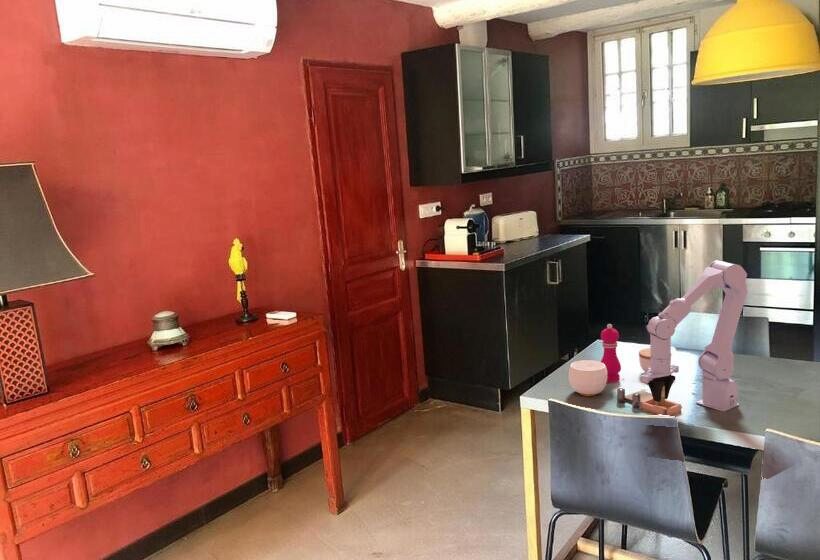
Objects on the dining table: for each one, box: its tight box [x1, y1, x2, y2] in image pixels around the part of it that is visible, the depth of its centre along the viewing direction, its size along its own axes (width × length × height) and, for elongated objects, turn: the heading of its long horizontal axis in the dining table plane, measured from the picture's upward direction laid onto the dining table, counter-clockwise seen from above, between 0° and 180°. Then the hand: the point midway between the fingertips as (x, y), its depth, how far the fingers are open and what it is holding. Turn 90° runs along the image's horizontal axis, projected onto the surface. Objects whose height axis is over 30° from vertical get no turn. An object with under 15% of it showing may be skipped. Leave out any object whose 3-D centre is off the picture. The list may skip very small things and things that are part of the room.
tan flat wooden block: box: [625, 389, 653, 404], centre depth 215 cm, size 7×9×2 cm
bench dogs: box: [616, 387, 641, 409], centre depth 211 cm, size 8×2×4 cm, turn 32°
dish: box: [639, 398, 682, 416], centre depth 205 cm, size 9×7×2 cm
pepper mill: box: [600, 323, 622, 384], centre depth 232 cm, size 7×7×20 cm
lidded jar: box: [638, 347, 650, 374], centre depth 237 cm, size 11×11×9 cm
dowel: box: [655, 385, 666, 406], centre depth 205 cm, size 3×3×6 cm
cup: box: [568, 359, 608, 397], centre depth 222 cm, size 12×12×10 cm
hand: (660, 399), depth 205 cm, fingers closed on dowel, 3 cm apart
